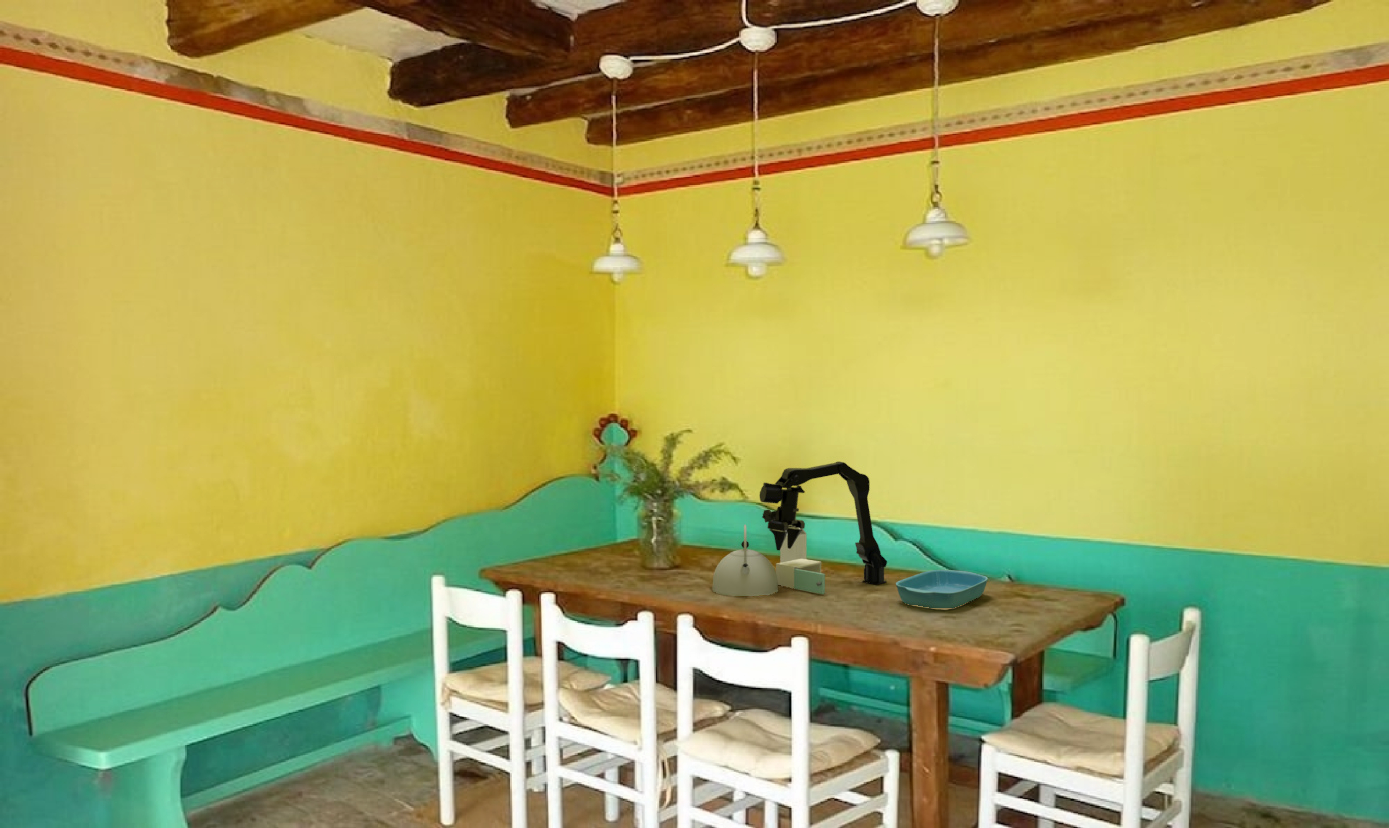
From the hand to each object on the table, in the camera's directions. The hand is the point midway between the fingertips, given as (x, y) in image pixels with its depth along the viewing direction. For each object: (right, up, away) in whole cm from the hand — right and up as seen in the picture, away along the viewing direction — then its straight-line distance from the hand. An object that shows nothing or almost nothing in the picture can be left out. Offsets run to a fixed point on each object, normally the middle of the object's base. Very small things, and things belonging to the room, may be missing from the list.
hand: (783, 549), depth 345 cm
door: (+8, -14, -6) cm, 17 cm away
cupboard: (+6, -13, +9) cm, 17 cm away
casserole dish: (+51, -15, -17) cm, 55 cm away
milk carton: (+6, -13, +26) cm, 30 cm away
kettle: (-13, -14, -1) cm, 20 cm away
